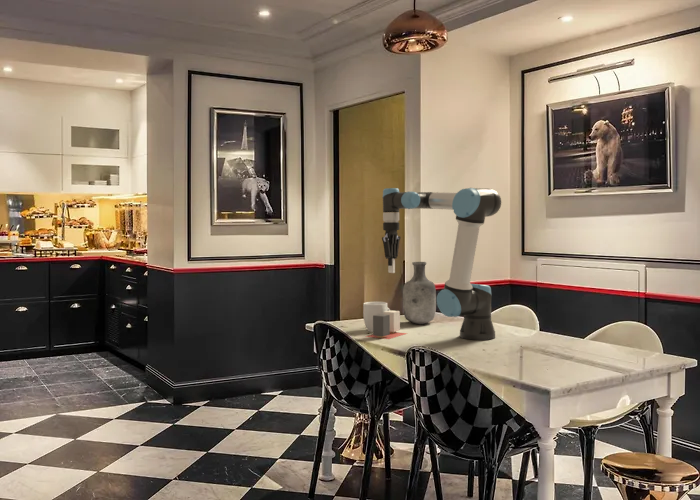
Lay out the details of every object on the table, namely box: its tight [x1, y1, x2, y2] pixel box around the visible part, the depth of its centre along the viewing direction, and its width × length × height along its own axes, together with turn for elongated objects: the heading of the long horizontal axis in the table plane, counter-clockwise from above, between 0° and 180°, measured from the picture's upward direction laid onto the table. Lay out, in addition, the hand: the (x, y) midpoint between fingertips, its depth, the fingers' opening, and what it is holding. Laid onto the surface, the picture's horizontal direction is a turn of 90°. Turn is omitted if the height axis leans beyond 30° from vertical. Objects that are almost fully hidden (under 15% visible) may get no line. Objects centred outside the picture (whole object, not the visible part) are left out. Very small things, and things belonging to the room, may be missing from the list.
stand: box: [365, 309, 408, 340], centre depth 300 cm, size 12×17×10 cm
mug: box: [362, 301, 391, 333], centre depth 313 cm, size 15×11×13 cm
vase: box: [402, 261, 437, 325], centre depth 332 cm, size 16×16×30 cm
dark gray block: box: [372, 314, 390, 336], centre depth 295 cm, size 5×5×9 cm
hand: (391, 272), depth 316 cm, fingers closed
